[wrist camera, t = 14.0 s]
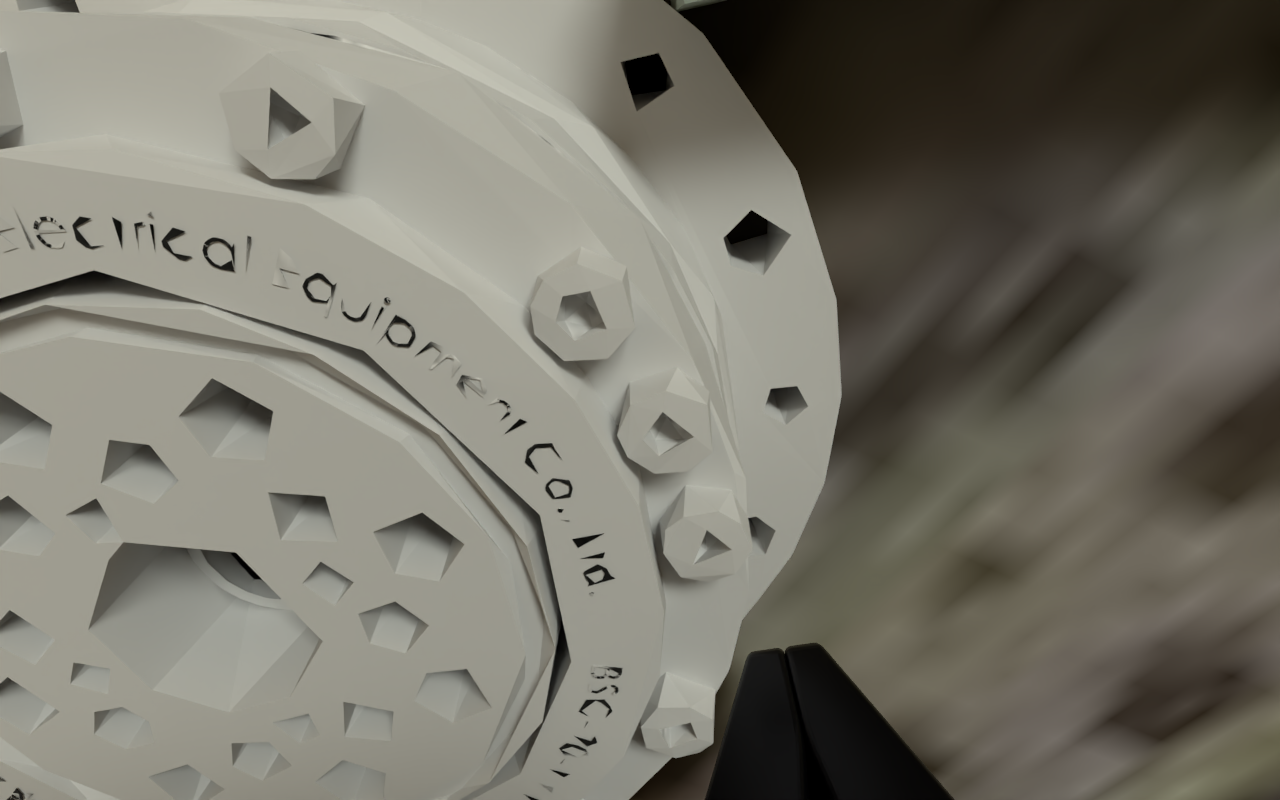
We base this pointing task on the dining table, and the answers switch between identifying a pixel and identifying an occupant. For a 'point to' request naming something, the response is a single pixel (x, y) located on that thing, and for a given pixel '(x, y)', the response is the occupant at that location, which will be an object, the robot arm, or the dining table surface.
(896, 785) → the robot arm
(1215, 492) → the dining table surface
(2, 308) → the mechanical component
